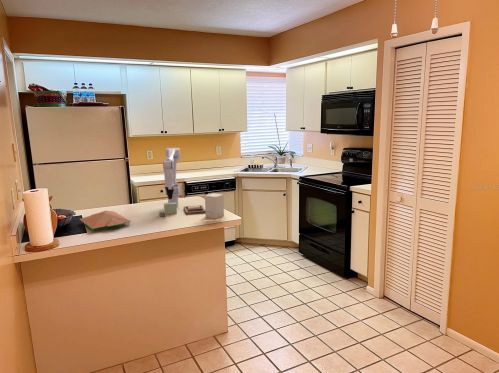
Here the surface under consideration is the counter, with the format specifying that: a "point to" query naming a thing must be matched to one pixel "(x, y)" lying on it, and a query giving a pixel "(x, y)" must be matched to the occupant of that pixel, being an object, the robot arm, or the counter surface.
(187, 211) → the walnut rack
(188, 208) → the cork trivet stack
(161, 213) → the charcoal mat
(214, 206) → the supplement box
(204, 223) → the counter surface
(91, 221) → the green-backed flat pad
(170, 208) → the pale green rectangular block
